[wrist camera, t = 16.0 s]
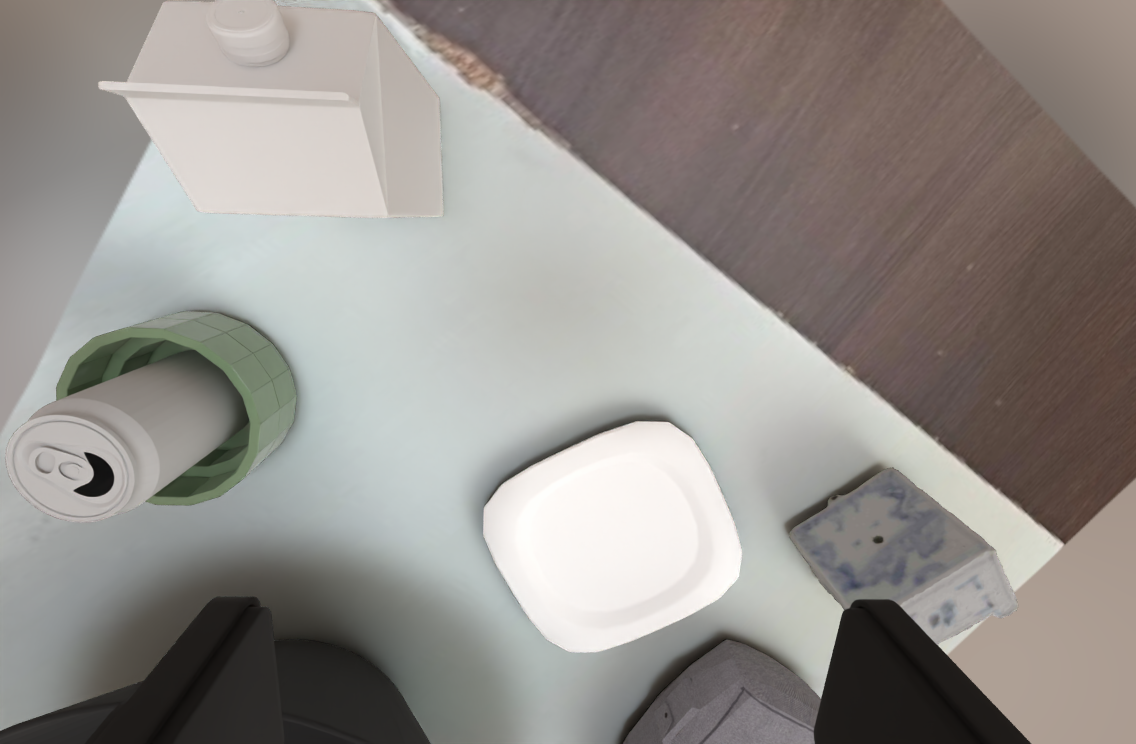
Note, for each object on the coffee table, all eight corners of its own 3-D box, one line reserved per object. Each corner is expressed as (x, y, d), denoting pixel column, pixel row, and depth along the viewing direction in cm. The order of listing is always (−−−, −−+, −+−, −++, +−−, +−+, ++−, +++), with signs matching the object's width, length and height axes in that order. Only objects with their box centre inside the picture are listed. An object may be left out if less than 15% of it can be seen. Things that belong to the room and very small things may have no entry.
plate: (560, 658, 46) (561, 675, 45) (458, 491, 41) (455, 502, 39) (754, 572, 45) (763, 586, 44) (674, 389, 40) (680, 396, 38)
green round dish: (115, 305, 35) (35, 323, 30) (294, 314, 36) (251, 332, 31) (141, 460, 39) (74, 503, 33) (306, 464, 40) (268, 507, 34)
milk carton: (444, 217, 35) (357, 219, 17) (333, 213, 35) (121, 212, 17) (440, 97, 33) (338, -42, 15) (322, 92, 33) (69, -60, 15)
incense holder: (824, 590, 46) (906, 694, 36) (778, 524, 44) (851, 615, 34) (925, 527, 45) (1038, 617, 35) (883, 456, 43) (990, 530, 33)
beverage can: (244, 448, 38) (123, 548, 27) (150, 413, 37) (-19, 502, 26) (272, 369, 37) (157, 440, 25) (175, 330, 36) (8, 386, 24)
